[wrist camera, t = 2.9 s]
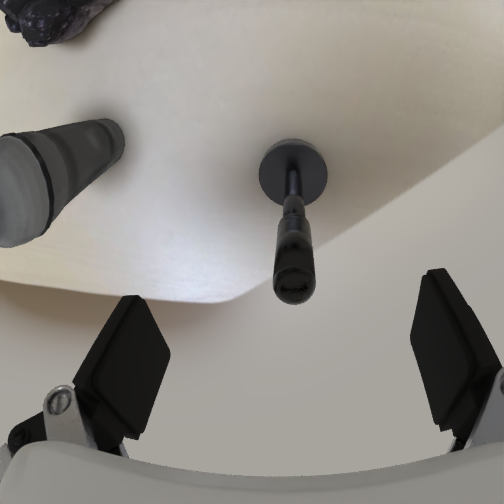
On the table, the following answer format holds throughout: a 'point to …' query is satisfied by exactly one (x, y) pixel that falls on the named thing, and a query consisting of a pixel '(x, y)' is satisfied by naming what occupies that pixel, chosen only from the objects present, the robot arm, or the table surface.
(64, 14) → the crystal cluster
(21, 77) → the table surface
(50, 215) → the beverage cup
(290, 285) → the disc-capped black rod
